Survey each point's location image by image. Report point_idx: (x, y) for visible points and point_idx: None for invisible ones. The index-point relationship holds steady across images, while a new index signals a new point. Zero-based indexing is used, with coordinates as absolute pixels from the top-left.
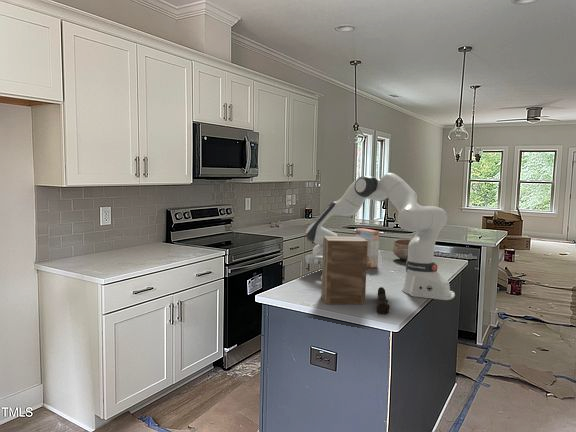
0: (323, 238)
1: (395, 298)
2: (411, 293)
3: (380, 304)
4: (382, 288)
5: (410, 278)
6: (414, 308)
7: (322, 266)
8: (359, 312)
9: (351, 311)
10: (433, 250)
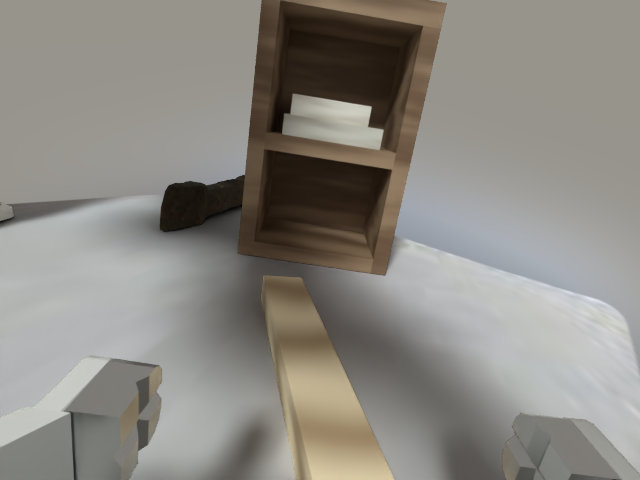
0: (442, 17)
1: (108, 223)
2: (8, 208)
3: None
4: (179, 183)
5: None
6: (137, 196)
7: (411, 154)
8: None
9: None
10: None
